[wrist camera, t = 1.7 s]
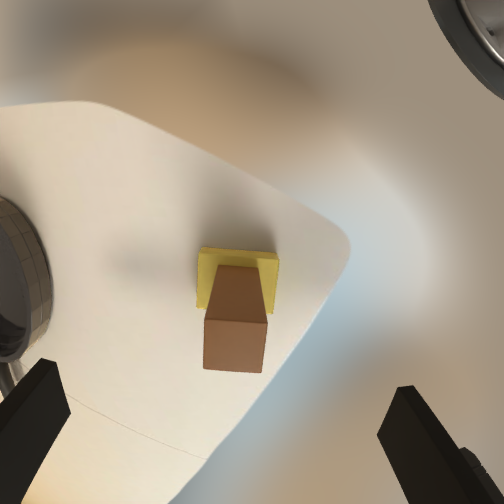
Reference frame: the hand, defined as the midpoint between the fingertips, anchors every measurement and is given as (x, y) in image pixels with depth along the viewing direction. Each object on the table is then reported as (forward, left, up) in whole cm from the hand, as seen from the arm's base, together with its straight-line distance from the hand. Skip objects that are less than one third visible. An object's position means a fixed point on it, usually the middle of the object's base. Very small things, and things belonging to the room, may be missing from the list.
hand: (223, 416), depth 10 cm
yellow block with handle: (0, 0, -16) cm, 16 cm away
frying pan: (+26, +2, -16) cm, 30 cm away
